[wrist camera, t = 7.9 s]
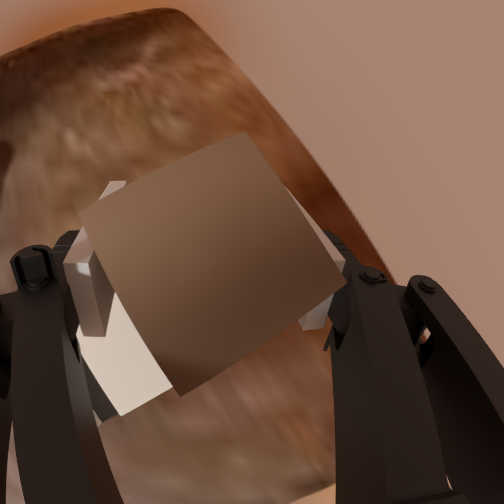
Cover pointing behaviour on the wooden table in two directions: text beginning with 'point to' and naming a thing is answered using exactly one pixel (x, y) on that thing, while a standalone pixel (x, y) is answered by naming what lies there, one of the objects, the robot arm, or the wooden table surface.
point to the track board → (119, 367)
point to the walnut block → (210, 258)
